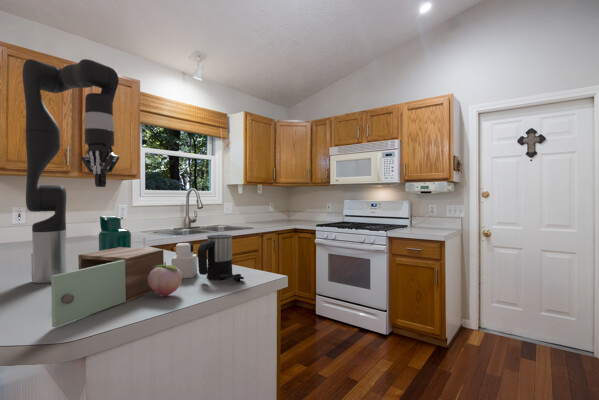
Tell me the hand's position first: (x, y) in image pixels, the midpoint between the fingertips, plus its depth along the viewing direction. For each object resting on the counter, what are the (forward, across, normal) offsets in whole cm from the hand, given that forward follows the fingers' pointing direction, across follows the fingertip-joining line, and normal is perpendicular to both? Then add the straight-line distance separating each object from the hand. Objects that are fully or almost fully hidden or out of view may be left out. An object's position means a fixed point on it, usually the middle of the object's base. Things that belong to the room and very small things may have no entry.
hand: (100, 186), depth 94 cm
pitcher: (+32, -11, +14) cm, 37 cm away
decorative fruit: (+32, +22, +2) cm, 39 cm away
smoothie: (+32, -2, +18) cm, 37 cm away
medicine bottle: (+32, +12, +23) cm, 41 cm away
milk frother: (+32, +29, +23) cm, 49 cm away
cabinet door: (+31, +15, -15) cm, 38 cm away
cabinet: (+32, +6, +2) cm, 33 cm away
